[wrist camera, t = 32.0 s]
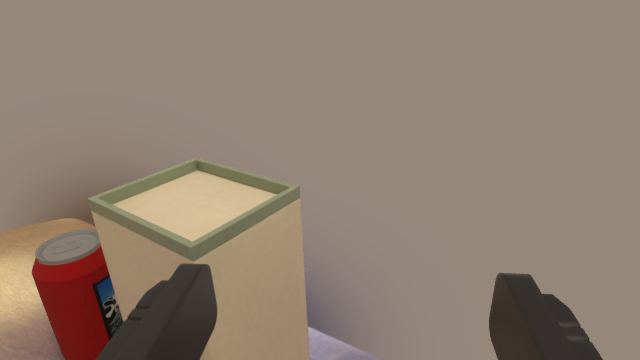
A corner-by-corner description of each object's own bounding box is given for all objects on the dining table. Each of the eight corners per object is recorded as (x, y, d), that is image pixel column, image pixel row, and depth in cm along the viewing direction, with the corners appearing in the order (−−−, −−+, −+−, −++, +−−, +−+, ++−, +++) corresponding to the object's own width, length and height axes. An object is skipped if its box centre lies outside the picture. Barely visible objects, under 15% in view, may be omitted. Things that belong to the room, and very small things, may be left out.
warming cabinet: (310, 370, 38) (299, 185, 31) (230, 460, 31) (190, 247, 23) (223, 319, 45) (197, 157, 37) (140, 384, 38) (87, 198, 30)
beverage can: (144, 347, 42) (117, 247, 37) (69, 382, 38) (28, 276, 33) (127, 311, 47) (101, 219, 42) (59, 339, 43) (23, 241, 38)
